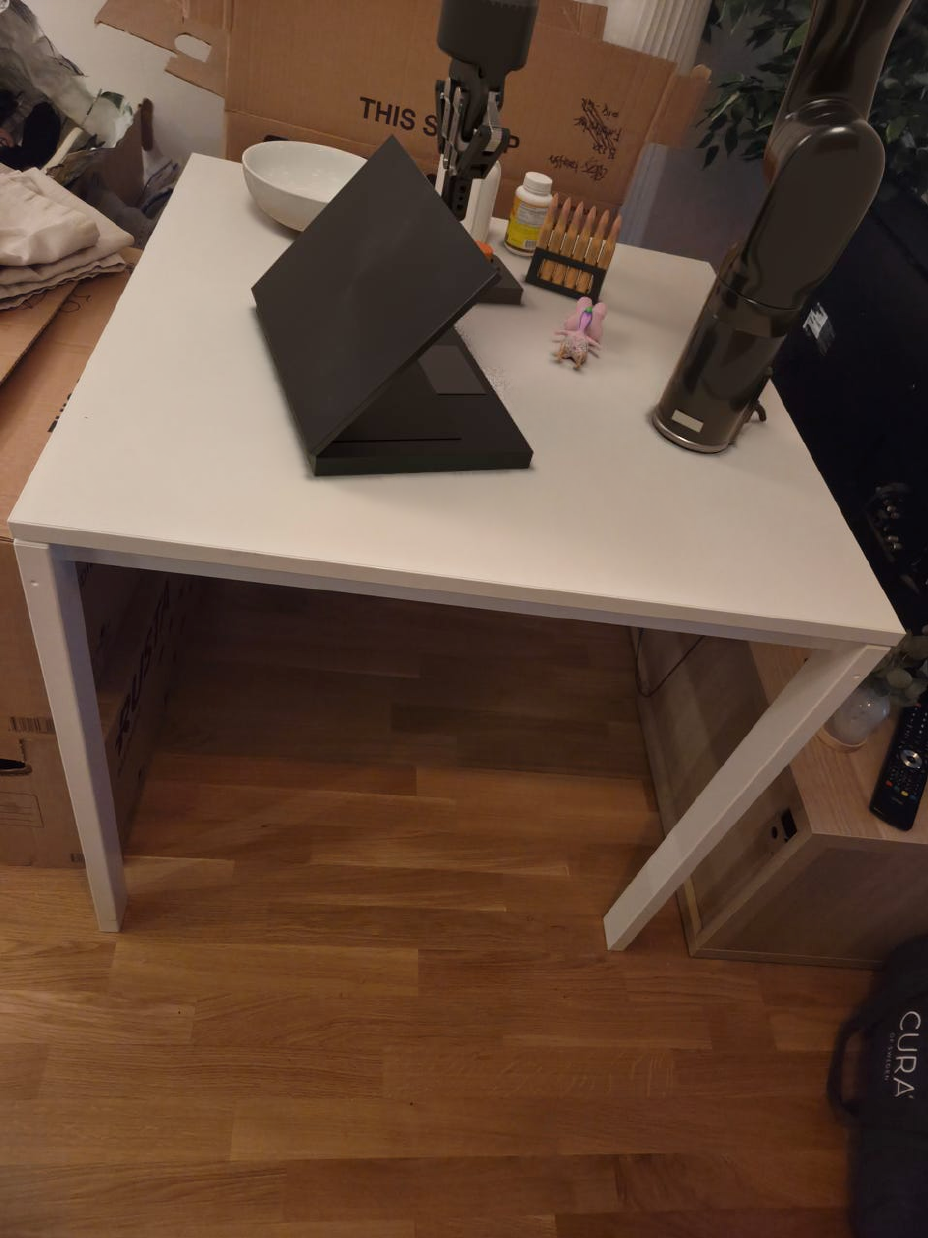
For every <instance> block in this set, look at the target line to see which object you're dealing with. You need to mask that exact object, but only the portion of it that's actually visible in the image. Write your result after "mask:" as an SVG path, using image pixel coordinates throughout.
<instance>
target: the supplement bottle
mask: <svg viewBox="0 0 928 1238" xmlns="http://www.w3.org/2000/svg"><path fill="white" fill-rule="evenodd" d="M552 185H553V179H552V178H551V177H550V176H548V175H546V174H543V173H540V172H536V171H528V172H526V173H525V176H524V179H523V183H522V185H520V186H518V187H517V188H516V190H515V193H514V196H513V202H512V205H511V210H510V213H509V217H508V221H507V226H506V230H505V234H504V239H503V245H504V247H505V248H506V249H507V251H509V252H511V253H512V254H515V255H517V256H521V257H533V254H534V250H535V247H536V243H537V240H538V236H539V233H540V229H541V226H542V224H543V222H544V219H545V216H546V214H547V211H548V208H549V205H550V203H551V200H552V199H553V197H554V196H553V195H552V194H551V189H552Z"/></svg>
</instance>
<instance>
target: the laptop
mask: <svg viewBox="0 0 928 1238" xmlns="http://www.w3.org/2000/svg"><path fill="white" fill-rule="evenodd" d="M255 305H256V304H255ZM255 312H256V314H257V317H258V319H259V322H260V326H261V328H262V331H263V334H264V336H265V339H266V342H267V346H268V348H269V351H270V353H271V356H272V359H273V362H274V365H275V368H276V371H277V373H278V374H277V375H278V376H279V379H280V382H281V385H282V387H283V390H284V394H285V397H286V399H287V402H288V405H289V408H290V411H291V413H292V417H293V420H294V422H295V425H296V428H297V430H298V433H299V437H300V439H301V442H302V444H303V448H304V451H305V453H306V456H307V459H308V461H309V465H310V468H311V470H312V473H313V475H314V477H328V476H329V477H332V476H353V475H354V476H356V475H357V476H358V475H359V476H360V475H381V474H384V475H385V474H407V473H408V474H409V473H411V474H412V473H431V472H432V473H433V472H459V471H461V472H462V471H486V470H487V471H488V470H515V469H516V470H517V469H529V467H530V465H531V463H532V459H533V456H534V454H535V452H534V450H533V449H532V447H531V445H530V444H529V442H528V440H527V439H526V437H525V436H524V434H523V433H522V430H521V429H520V428H519V426H518V425H517V423H516V421H515V420H514V418H513V417H512V415H511V413H510V412H509V410H508V409H507V407H506V406H505V404H504V402H503V401H502V400H501V398H500V397H499V395H498V393H497V391H496V390H495V388H494V387H493V385H492V384H491V381H490V380H489V379H488V377H487V375H486V373H484V371H483V369H482V368H481V366H480V365H479V363H478V362H477V360H476V358H475V357H474V355H473V353H472V351H470V349H469V347H468V345H467V344H466V343H465V341H464V339H463V338H462V336H461V334H460V333H459V332H458V330H457V328H456V327H455V325H453V326H452V327H451V328H450V329H449V330H448V331H447V332H446V333H445V334H444V335H443V336H442V337H441V338H440V339H439V340H438V341H437V342H436V343H435V344H434V345H433V346H431V347H430V348H429V349H428V350H427V351H426V352H425V353H424V354H423V355H422V356H421V357H420V358H419V359H418V360H417V361H416V362H415V363H414V364H413V365H412V366H411V367H410V368H408V369H407V370H406V371H405V372H404V373H403V374H402V375H401V376H400V377H399V378H398V379H397V380H396V381H395V382H394V383H393V384H392V385H391V386H390V387H389V388H388V389H387V390H385V391H384V392H383V393H382V394H381V395H380V396H379V397H378V398H377V399H376V400H375V401H374V402H373V403H372V404H371V405H370V406H369V407H368V408H367V409H366V410H365V411H363V412H362V413H361V414H360V415H359V416H358V417H357V418H356V419H355V420H354V421H353V422H352V423H351V424H350V425H349V426H348V427H347V428H346V429H345V430H344V431H343V432H342V433H340V434H339V435H338V436H337V437H336V438H335V439H334V440H333V441H332V442H331V443H330V444H329V445H328V446H327V447H326V448H325V449H324V450H323V451H322V452H321V453H320V454H319V455H317V456H316V457H314V456H312V455H311V454H309V451H308V448H307V445H306V443H305V440H304V437H303V434H302V431H301V429H300V426H299V423H298V420H297V417H296V414H295V412H294V409H293V406H292V403H291V400H290V398H289V395H288V392H287V389H286V386H285V384H284V381H283V378H282V375H281V372H280V369H279V367H278V364H277V361H276V358H275V355H274V353H273V350H272V347H271V344H270V341H269V339H268V336H267V333H266V330H265V327H264V324H263V322H262V319H261V316H260V313H259V310H258V308H257V305H256V306H255Z"/></svg>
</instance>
